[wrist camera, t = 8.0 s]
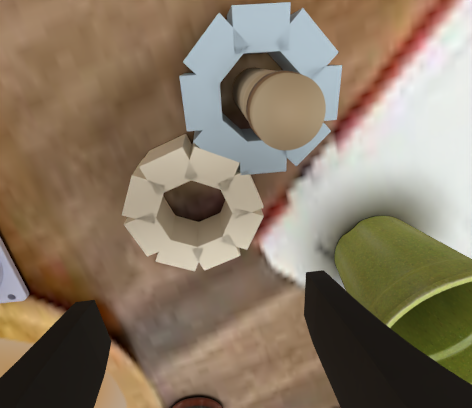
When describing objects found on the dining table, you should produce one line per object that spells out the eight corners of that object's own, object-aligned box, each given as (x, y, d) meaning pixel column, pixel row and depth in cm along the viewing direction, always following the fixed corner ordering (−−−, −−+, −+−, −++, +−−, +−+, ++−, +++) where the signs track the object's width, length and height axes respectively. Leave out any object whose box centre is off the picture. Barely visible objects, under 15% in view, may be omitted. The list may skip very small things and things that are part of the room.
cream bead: (173, 256, 21) (168, 285, 18) (112, 167, 18) (95, 186, 15) (268, 216, 20) (278, 240, 17) (224, 115, 17) (228, 125, 14)
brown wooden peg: (232, 115, 17) (252, 155, 10) (229, 68, 16) (249, 74, 9) (274, 111, 17) (324, 148, 10) (274, 65, 16) (330, 68, 9)
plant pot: (315, 200, 20) (385, 288, 12) (443, 186, 20) (587, 263, 13) (309, 298, 24) (358, 409, 17) (415, 285, 25) (511, 387, 17)
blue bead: (195, 161, 18) (193, 179, 15) (176, 18, 14) (170, 8, 12) (313, 151, 18) (331, 167, 16) (323, 10, 15) (348, -1, 12)
